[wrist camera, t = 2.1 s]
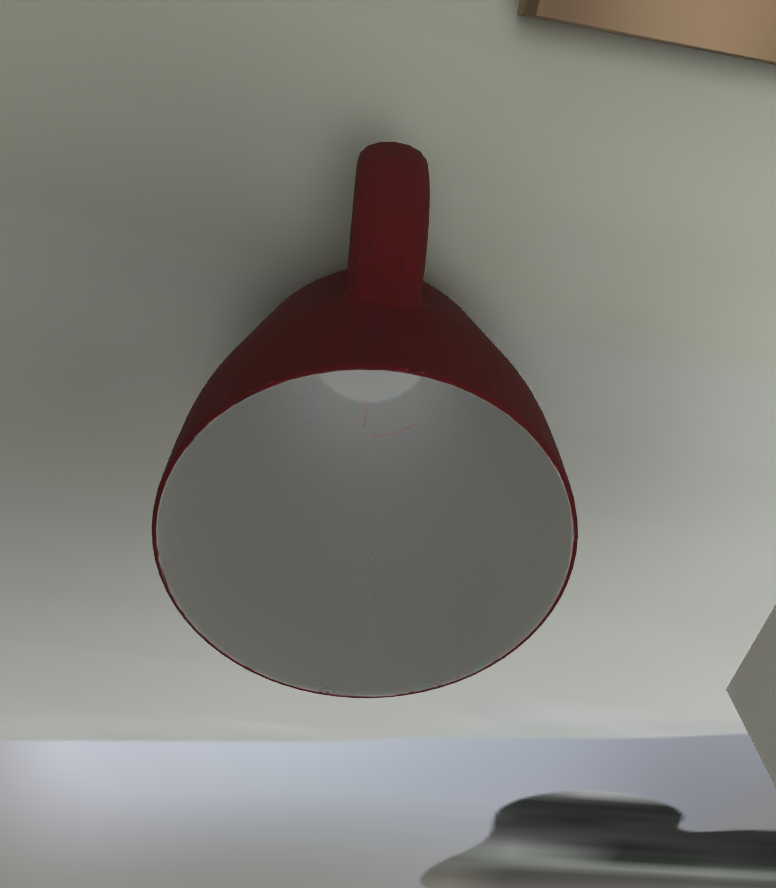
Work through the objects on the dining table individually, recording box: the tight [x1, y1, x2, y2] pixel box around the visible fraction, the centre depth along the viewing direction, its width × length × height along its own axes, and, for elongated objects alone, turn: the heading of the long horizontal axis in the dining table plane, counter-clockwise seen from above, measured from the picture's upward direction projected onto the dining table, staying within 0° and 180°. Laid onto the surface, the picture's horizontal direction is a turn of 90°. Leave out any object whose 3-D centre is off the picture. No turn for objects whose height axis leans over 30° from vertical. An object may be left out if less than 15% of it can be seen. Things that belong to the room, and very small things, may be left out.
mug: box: [152, 142, 578, 698], centre depth 17 cm, size 10×8×10 cm
